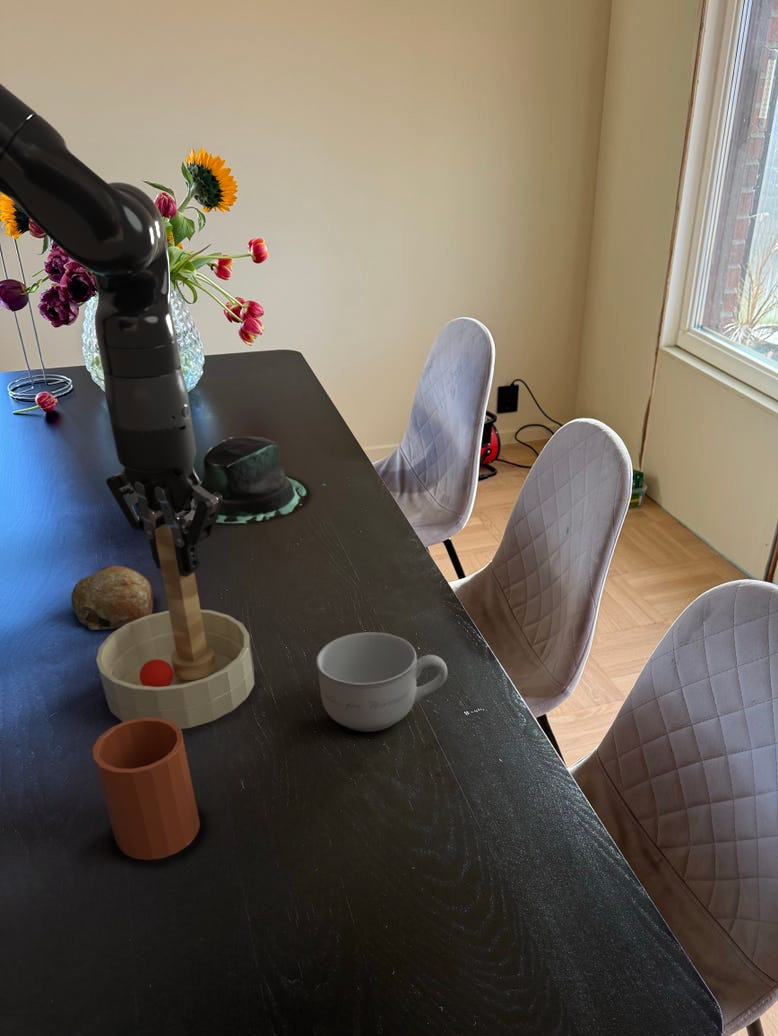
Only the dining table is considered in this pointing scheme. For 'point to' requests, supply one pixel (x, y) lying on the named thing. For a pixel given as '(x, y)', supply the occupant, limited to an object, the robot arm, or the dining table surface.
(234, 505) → the dark fedora hat
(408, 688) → the teacup
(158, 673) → the tomato
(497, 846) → the dining table surface
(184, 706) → the bowl
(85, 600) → the bread roll
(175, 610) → the wooden pestle
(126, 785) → the crock
